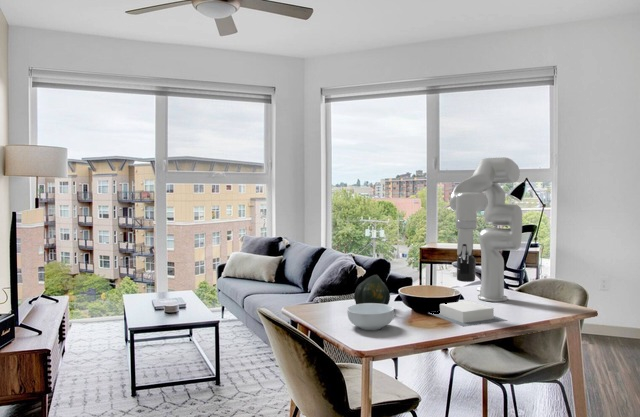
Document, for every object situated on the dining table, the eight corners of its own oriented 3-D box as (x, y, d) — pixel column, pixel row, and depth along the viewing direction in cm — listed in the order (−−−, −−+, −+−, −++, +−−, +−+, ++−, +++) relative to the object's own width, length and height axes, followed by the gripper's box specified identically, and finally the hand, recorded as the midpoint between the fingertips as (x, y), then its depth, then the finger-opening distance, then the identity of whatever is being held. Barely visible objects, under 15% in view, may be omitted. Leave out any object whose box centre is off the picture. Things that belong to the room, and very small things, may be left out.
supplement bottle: (454, 281, 192) (455, 249, 192) (458, 278, 198) (459, 247, 198) (473, 282, 189) (473, 250, 189) (477, 279, 195) (477, 248, 195)
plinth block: (439, 314, 198) (439, 304, 198) (469, 310, 204) (469, 300, 204) (463, 322, 185) (463, 311, 185) (493, 318, 191) (493, 308, 191)
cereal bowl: (365, 318, 195) (364, 300, 195) (403, 326, 184) (403, 306, 184) (337, 328, 182) (337, 309, 182) (377, 336, 171) (377, 316, 171)
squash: (349, 301, 201) (374, 272, 202) (346, 294, 216) (369, 267, 217) (376, 324, 202) (401, 295, 202) (371, 316, 217) (394, 289, 217)
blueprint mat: (427, 314, 201) (427, 312, 201) (468, 309, 209) (468, 307, 209) (463, 328, 181) (463, 326, 181) (507, 321, 188) (507, 320, 188)
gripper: (458, 224, 203) (458, 268, 203) (452, 226, 187) (452, 275, 187) (478, 224, 200) (478, 269, 200) (474, 227, 184) (473, 276, 184)
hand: (465, 272), depth 194 cm, fingers closed on supplement bottle, 6 cm apart
